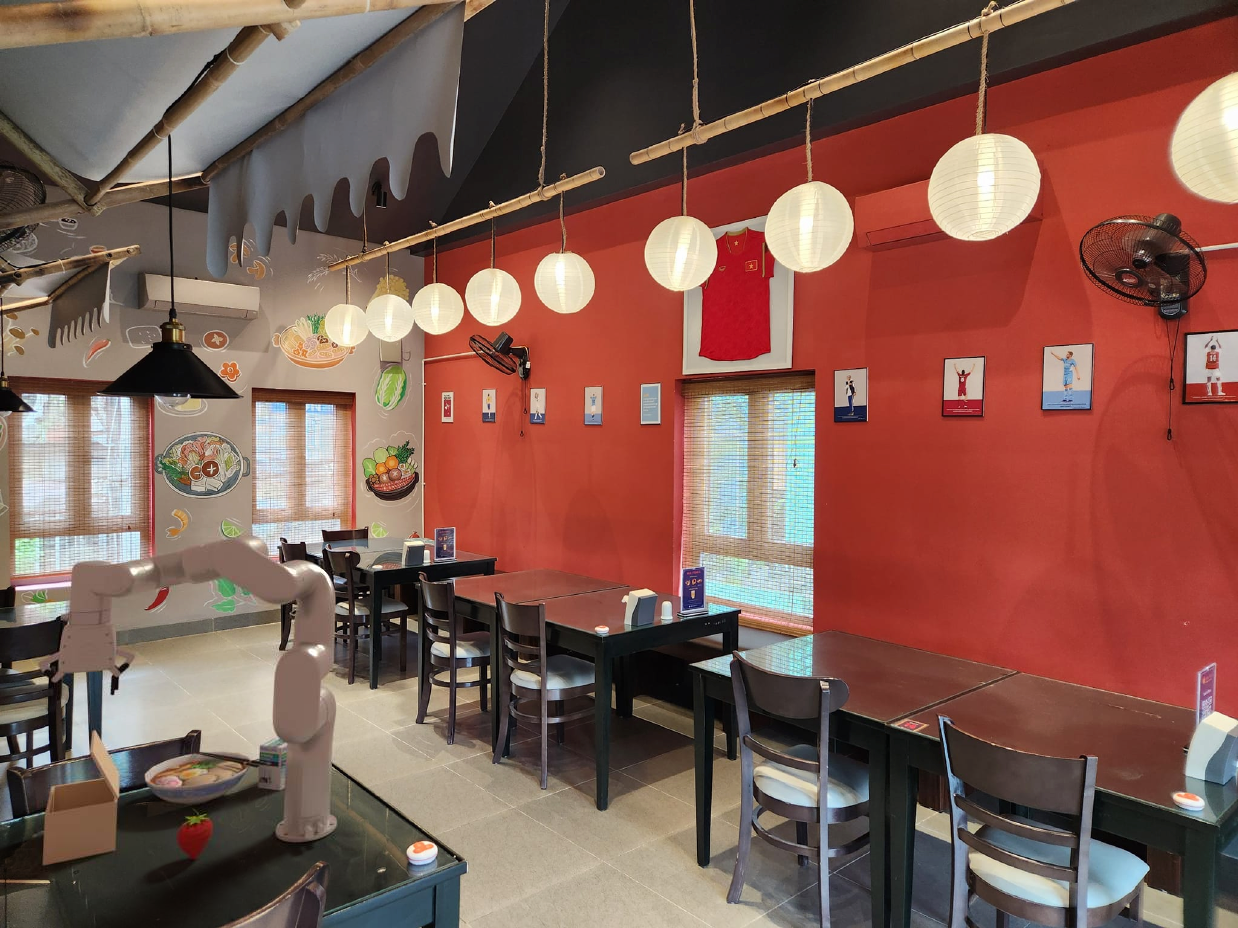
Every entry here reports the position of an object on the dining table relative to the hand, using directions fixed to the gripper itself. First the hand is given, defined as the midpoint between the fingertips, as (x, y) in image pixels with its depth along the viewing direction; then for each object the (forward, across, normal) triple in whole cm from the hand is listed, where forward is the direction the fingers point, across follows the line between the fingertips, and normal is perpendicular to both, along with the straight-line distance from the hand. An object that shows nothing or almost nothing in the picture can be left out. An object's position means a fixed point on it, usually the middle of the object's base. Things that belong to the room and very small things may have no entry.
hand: (86, 696), depth 164 cm
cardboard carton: (+29, +1, -5) cm, 30 cm away
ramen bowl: (+30, +23, +7) cm, 38 cm away
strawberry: (+29, +21, -25) cm, 44 cm away
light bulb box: (+29, +42, +9) cm, 52 cm away
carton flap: (+14, +4, -5) cm, 15 cm away
